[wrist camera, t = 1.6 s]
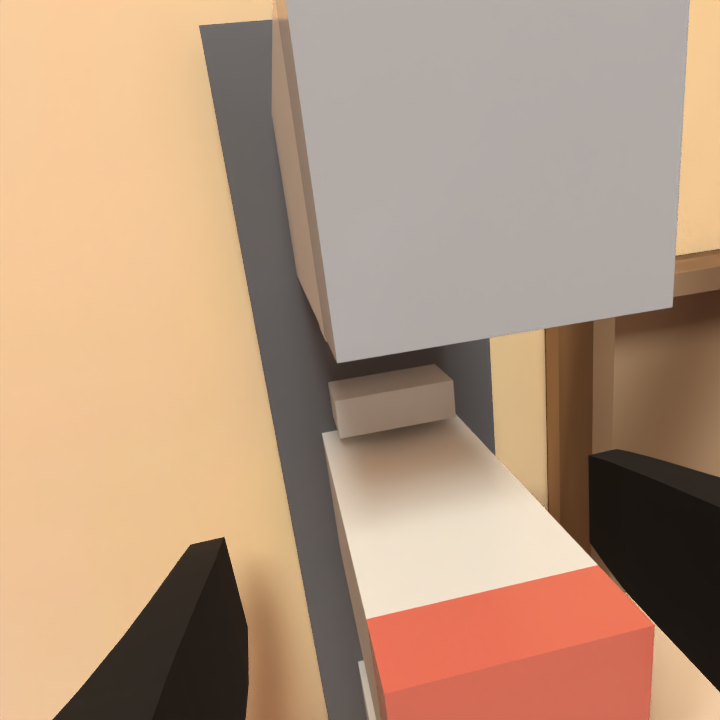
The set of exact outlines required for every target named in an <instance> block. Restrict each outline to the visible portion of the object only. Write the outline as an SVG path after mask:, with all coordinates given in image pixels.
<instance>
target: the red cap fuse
mask: <svg viewBox="0 0 720 720" xmlns="http://www.w3.org/2000/svg"><path fill="white" fill-rule="evenodd" d="M322 437H323V444H324V450H325V456H326V463H327V469H328V475H329V482H330V488H331V494H332V501H333V507H334V513H335V520H336V526H337V532H338V539H339V545H340V550H341V555H342V560H343V565H344V569H345V574H346V579H347V584H348V588H349V593H350V598H351V603H352V607H353V612H354V617H355V622H356V626H357V631H358V636H359V640H360V645H361V650H362V655H363V659H364V664H365V669H366V674H367V678H368V683H369V688H370V693H371V697H372V702H373V707H374V712H375V716H376V720H649V716H650V698H651V681H652V663H653V645H654V627H655V625H654V624H653V623H652V622H651V621H650V620H649V619H648V618H647V617H646V616H645V614H644V613H643V612H642V611H641V610H640V609H639V608H638V607H637V606H636V605H635V604H634V603H633V602H632V601H631V600H630V599H629V597H628V596H627V595H626V594H625V593H624V592H623V591H622V590H621V589H620V588H619V587H618V586H617V585H616V584H615V583H614V582H613V580H612V579H611V578H610V577H609V576H608V575H607V574H606V573H605V572H604V571H603V570H602V569H601V568H600V567H599V566H598V565H597V563H596V562H595V561H594V560H593V559H592V558H591V557H590V556H589V555H588V554H587V553H586V552H585V551H584V550H583V549H582V548H581V547H580V545H579V544H578V543H577V542H576V541H575V540H574V539H573V538H572V537H571V536H570V535H569V534H568V533H567V532H566V531H565V530H564V528H563V527H562V526H561V525H560V524H559V523H558V522H557V521H556V520H555V519H554V518H553V517H552V516H551V515H550V514H549V513H548V511H547V510H546V509H545V508H544V507H543V506H542V505H541V504H540V503H539V502H538V501H537V500H536V499H535V498H534V497H533V496H532V494H531V493H530V492H529V491H528V490H527V489H526V488H525V487H524V486H523V485H522V484H521V483H520V482H519V481H518V480H517V479H516V478H515V476H514V475H513V474H512V473H511V472H510V471H509V470H508V469H507V468H506V467H505V466H504V465H503V464H502V463H501V462H500V461H499V459H498V458H497V457H496V456H495V455H494V454H493V453H492V452H491V451H490V450H489V449H488V448H487V447H486V446H485V445H484V444H483V442H482V441H481V440H480V439H479V438H478V437H477V436H476V435H475V434H474V433H473V432H472V431H471V430H470V429H469V428H468V427H467V426H466V424H465V423H464V422H463V421H462V420H461V419H460V418H459V417H458V416H457V415H456V417H454V418H448V419H443V420H438V421H432V422H427V423H422V424H416V425H411V426H406V427H400V428H395V429H389V430H384V431H379V432H373V433H368V434H363V435H357V436H352V437H347V438H341V439H340V437H339V434H338V430H336V431H331V432H325V433H322Z"/></svg>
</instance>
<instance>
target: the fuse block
mask: <svg viewBox="0 0 720 720" xmlns="http://www.w3.org/2000/svg"><path fill="white" fill-rule="evenodd" d="M272 22H273V20H263V21H250V22H237V23H225V24H212V25H200V26H199V28H200V33H201V38H202V44H203V49H204V54H205V60H206V65H207V71H208V76H209V81H210V87H211V92H212V97H213V103H214V108H215V113H216V119H217V124H218V129H219V135H220V140H221V146H222V151H223V156H224V162H225V167H226V172H227V178H228V183H229V188H230V194H231V199H232V204H233V210H234V215H235V220H236V226H237V231H238V237H239V242H240V247H241V253H242V258H243V263H244V269H245V274H246V279H247V285H248V290H249V295H250V301H251V306H252V311H253V317H254V322H255V328H256V333H257V338H258V344H259V349H260V354H261V360H262V365H263V370H264V376H265V381H266V386H267V392H268V397H269V403H270V408H271V413H272V419H273V424H274V429H275V435H276V440H277V445H278V451H279V456H280V461H281V467H282V472H283V477H284V483H285V488H286V494H287V499H288V504H289V510H290V515H291V520H292V526H293V531H294V536H295V542H296V547H297V552H298V558H299V563H300V569H301V574H302V579H303V585H304V590H305V595H306V601H307V606H308V611H309V617H310V622H311V627H312V633H313V638H314V643H315V649H316V654H317V660H318V665H319V670H320V676H321V681H322V686H323V692H324V697H325V702H326V708H327V713H328V718H329V720H367V716H366V710H365V704H364V697H363V691H362V685H361V678H360V672H359V665H358V662H359V661H363V660H364V659H363V655H362V650H361V645H360V640H359V636H358V631H357V626H356V622H355V617H354V612H353V607H352V603H351V598H350V593H349V588H348V584H347V579H346V574H345V569H344V565H343V560H342V555H341V550H340V545H339V539H338V532H337V526H336V520H335V513H334V507H333V501H332V494H331V488H330V482H329V475H328V469H327V463H326V456H325V450H324V444H323V437H322V433H325V432H331V431H336V430H338V434H339V437H340V439H341V438H347V437H352V436H357V435H363V434H368V433H373V432H379V431H384V430H389V429H395V428H400V427H406V426H411V425H416V424H422V423H427V422H432V421H438V420H443V419H448V418H454V417H456V415H457V416H458V417H459V418H460V419H461V420H462V421H463V422H464V423H465V424H466V426H467V427H468V428H469V429H470V430H471V431H472V432H473V433H474V434H475V435H476V436H477V437H478V438H479V439H480V440H481V441H482V442H483V444H484V445H485V446H486V447H487V448H488V449H489V450H490V451H491V452H492V453H493V454H494V455H495V441H494V422H493V402H492V382H491V362H490V342H489V338H485V339H479V340H473V341H467V342H461V343H455V344H449V345H444V346H438V347H432V348H426V349H420V350H414V351H408V352H402V353H396V354H390V355H384V356H378V357H372V358H366V359H360V360H354V361H348V362H342V363H337V362H336V360H335V357H334V355H333V353H332V351H331V349H330V346H329V344H328V342H327V340H326V338H325V336H324V333H323V331H322V329H321V327H320V325H319V322H318V320H317V318H316V316H315V314H314V312H313V309H312V307H311V305H310V303H309V301H308V298H307V296H306V294H305V292H304V290H303V288H302V285H301V283H300V281H299V279H298V277H297V272H296V266H295V260H294V253H293V247H292V241H291V234H290V228H289V222H288V215H287V209H286V203H285V196H284V190H283V184H282V177H281V171H280V165H279V158H278V152H277V146H276V139H275V133H274V127H273V120H272V114H271V109H272Z"/></svg>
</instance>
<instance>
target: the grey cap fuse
mask: <svg viewBox="0 0 720 720" xmlns="http://www.w3.org/2000/svg"><path fill="white" fill-rule="evenodd" d="M689 4H690V0H273V22H272V109H271V114H272V120H273V127H274V133H275V139H276V146H277V152H278V158H279V165H280V171H281V177H282V184H283V190H284V196H285V203H286V209H287V215H288V222H289V228H290V234H291V241H292V247H293V253H294V260H295V266H296V272H297V277H298V279H299V281H300V283H301V285H302V288H303V290H304V292H305V294H306V296H307V298H308V301H309V303H310V305H311V307H312V309H313V312H314V314H315V316H316V318H317V320H318V322H319V325H320V327H321V329H322V331H323V333H324V336H325V338H326V340H327V342H328V344H329V346H330V349H331V351H332V353H333V355H334V357H335V360H336V362H337V363H342V362H348V361H354V360H360V359H366V358H372V357H378V356H384V355H390V354H396V353H402V352H408V351H414V350H420V349H426V348H432V347H438V346H444V345H449V344H455V343H461V342H467V341H473V340H479V339H485V338H491V337H497V336H503V335H509V334H515V333H521V332H527V331H533V330H539V329H545V328H551V327H557V326H563V325H569V324H575V323H581V322H587V321H593V320H599V319H605V318H611V317H617V316H623V315H629V314H635V313H641V312H647V311H653V310H659V309H665V308H671V307H673V289H674V271H675V253H676V235H677V218H678V200H679V182H680V164H681V146H682V129H683V111H684V93H685V75H686V57H687V40H688V22H689Z"/></svg>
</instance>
